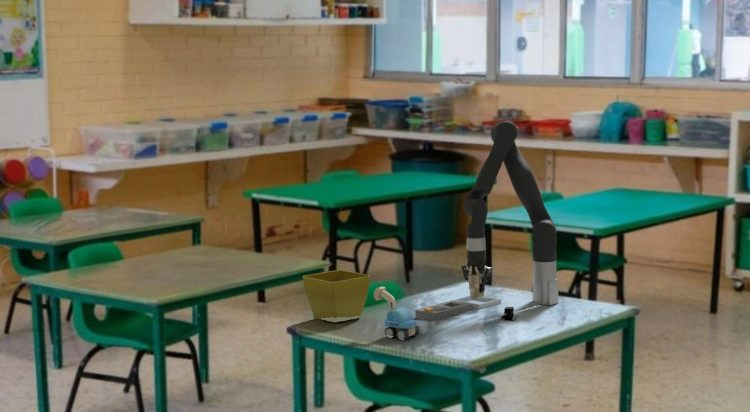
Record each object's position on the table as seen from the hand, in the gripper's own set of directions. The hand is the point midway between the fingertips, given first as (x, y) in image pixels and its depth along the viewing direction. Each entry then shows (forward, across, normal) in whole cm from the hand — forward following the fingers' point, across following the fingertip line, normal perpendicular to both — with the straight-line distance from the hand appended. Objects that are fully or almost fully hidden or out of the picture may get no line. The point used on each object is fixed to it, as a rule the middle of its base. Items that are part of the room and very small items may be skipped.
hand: (477, 291), depth 495 cm
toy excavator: (+6, -7, +58) cm, 59 cm away
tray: (+6, +1, 0) cm, 6 cm away
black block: (+7, -22, +10) cm, 25 cm away
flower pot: (+5, +29, +50) cm, 58 cm away
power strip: (+6, +1, +20) cm, 21 cm away
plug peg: (+2, 0, 0) cm, 2 cm away
